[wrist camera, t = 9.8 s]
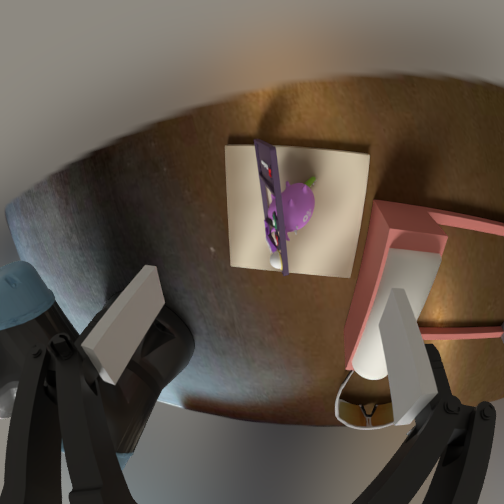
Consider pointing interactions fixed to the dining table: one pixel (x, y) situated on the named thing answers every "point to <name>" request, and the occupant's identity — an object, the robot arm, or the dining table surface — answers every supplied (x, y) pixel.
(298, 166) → the plate
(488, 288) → the dining table surface
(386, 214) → the frame
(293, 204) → the purple toy
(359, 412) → the sunglasses
